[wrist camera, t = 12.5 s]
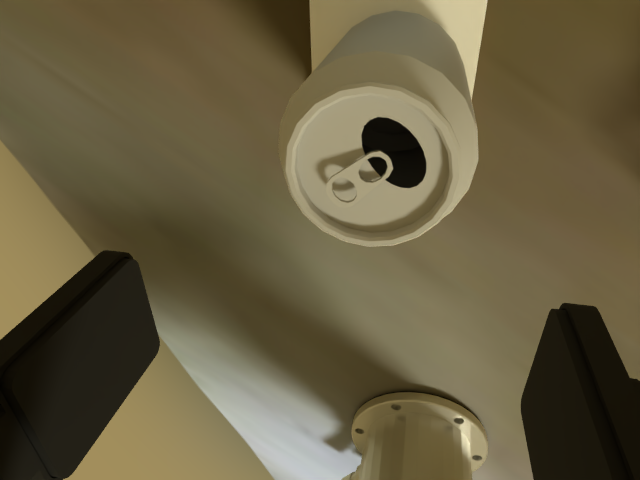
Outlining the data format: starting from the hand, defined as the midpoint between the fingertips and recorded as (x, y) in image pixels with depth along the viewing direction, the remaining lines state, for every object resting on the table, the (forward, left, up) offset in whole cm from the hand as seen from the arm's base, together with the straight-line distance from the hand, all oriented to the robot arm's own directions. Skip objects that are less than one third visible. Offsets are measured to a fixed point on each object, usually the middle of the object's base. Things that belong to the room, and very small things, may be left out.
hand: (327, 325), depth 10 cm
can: (+1, 0, -19) cm, 19 cm away
